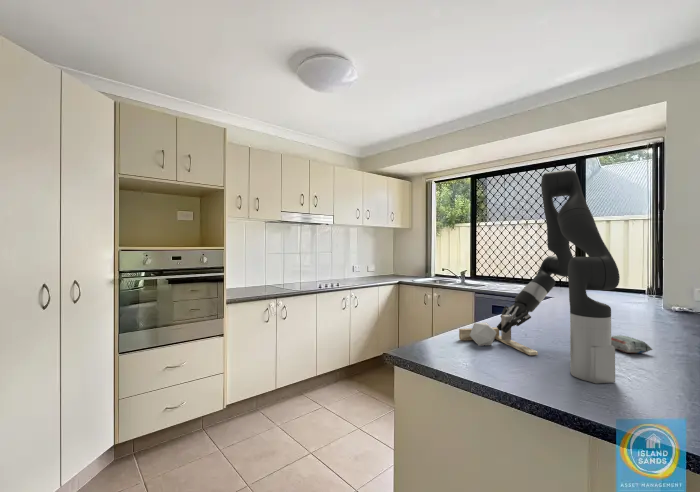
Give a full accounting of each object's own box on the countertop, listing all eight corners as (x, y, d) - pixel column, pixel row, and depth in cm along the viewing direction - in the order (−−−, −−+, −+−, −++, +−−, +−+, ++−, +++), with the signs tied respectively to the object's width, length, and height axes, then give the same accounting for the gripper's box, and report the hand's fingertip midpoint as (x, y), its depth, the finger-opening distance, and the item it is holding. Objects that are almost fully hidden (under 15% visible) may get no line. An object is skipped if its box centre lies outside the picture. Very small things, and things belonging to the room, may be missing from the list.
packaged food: (629, 357, 108) (629, 342, 108) (598, 346, 119) (598, 332, 119) (653, 356, 109) (653, 341, 109) (620, 345, 120) (620, 332, 120)
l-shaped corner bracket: (537, 354, 109) (537, 324, 109) (489, 357, 107) (489, 326, 107) (499, 337, 130) (499, 312, 130) (459, 339, 128) (459, 313, 128)
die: (496, 350, 116) (503, 326, 120) (474, 338, 116) (482, 315, 120) (483, 352, 124) (490, 329, 128) (463, 341, 124) (470, 318, 128)
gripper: (512, 287, 131) (484, 319, 130) (537, 292, 118) (505, 327, 116) (525, 300, 132) (496, 332, 130) (550, 306, 118) (519, 342, 117)
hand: (501, 330), depth 123 cm, fingers closed on l-shaped corner bracket, 2 cm apart
